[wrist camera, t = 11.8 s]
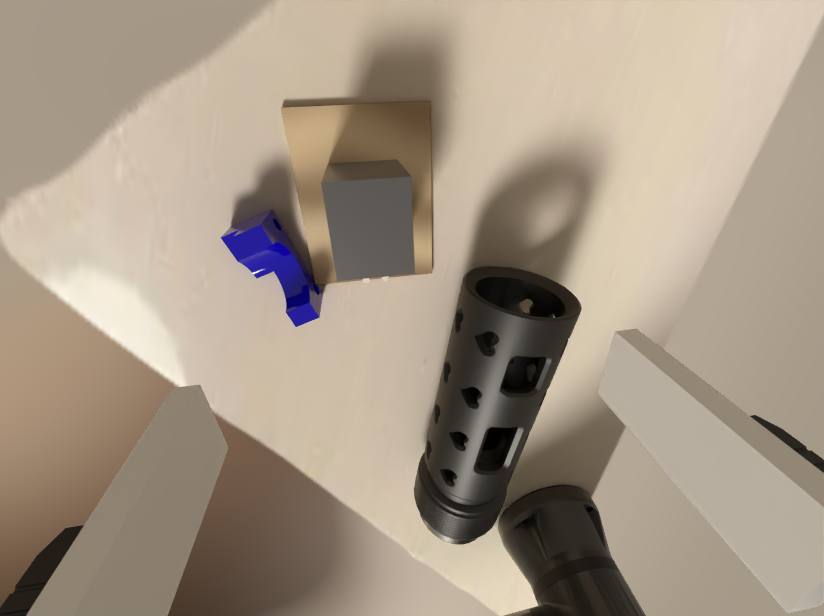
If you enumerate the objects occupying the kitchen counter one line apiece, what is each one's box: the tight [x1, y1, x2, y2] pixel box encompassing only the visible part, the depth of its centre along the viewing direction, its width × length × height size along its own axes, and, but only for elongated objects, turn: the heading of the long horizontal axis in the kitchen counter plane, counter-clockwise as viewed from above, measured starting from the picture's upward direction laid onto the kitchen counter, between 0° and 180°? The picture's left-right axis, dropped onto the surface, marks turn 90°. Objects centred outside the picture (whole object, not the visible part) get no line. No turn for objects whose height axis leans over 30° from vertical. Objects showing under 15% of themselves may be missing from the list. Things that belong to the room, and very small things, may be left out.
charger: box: [321, 159, 415, 283], centre depth 25 cm, size 8×5×7 cm, turn 2°
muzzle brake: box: [414, 267, 582, 544], centre depth 34 cm, size 10×28×10 cm, turn 172°
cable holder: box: [221, 210, 323, 327], centre depth 27 cm, size 8×4×4 cm, turn 21°
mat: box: [281, 101, 432, 285], centre depth 27 cm, size 13×10×1 cm
